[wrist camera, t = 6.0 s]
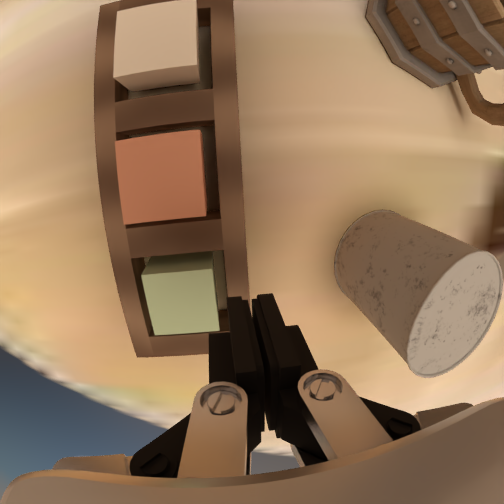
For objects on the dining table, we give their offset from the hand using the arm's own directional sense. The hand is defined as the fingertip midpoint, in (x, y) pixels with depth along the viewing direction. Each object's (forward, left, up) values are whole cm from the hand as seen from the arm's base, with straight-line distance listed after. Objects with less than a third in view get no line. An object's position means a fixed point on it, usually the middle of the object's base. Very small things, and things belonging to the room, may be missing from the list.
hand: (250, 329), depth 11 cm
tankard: (-17, +22, -14) cm, 31 cm away
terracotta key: (-5, -4, -12) cm, 14 cm away
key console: (-5, -4, -14) cm, 16 cm away
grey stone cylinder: (+4, +14, -14) cm, 20 cm away
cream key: (-14, -4, -12) cm, 19 cm away
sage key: (+4, -4, -14) cm, 15 cm away
